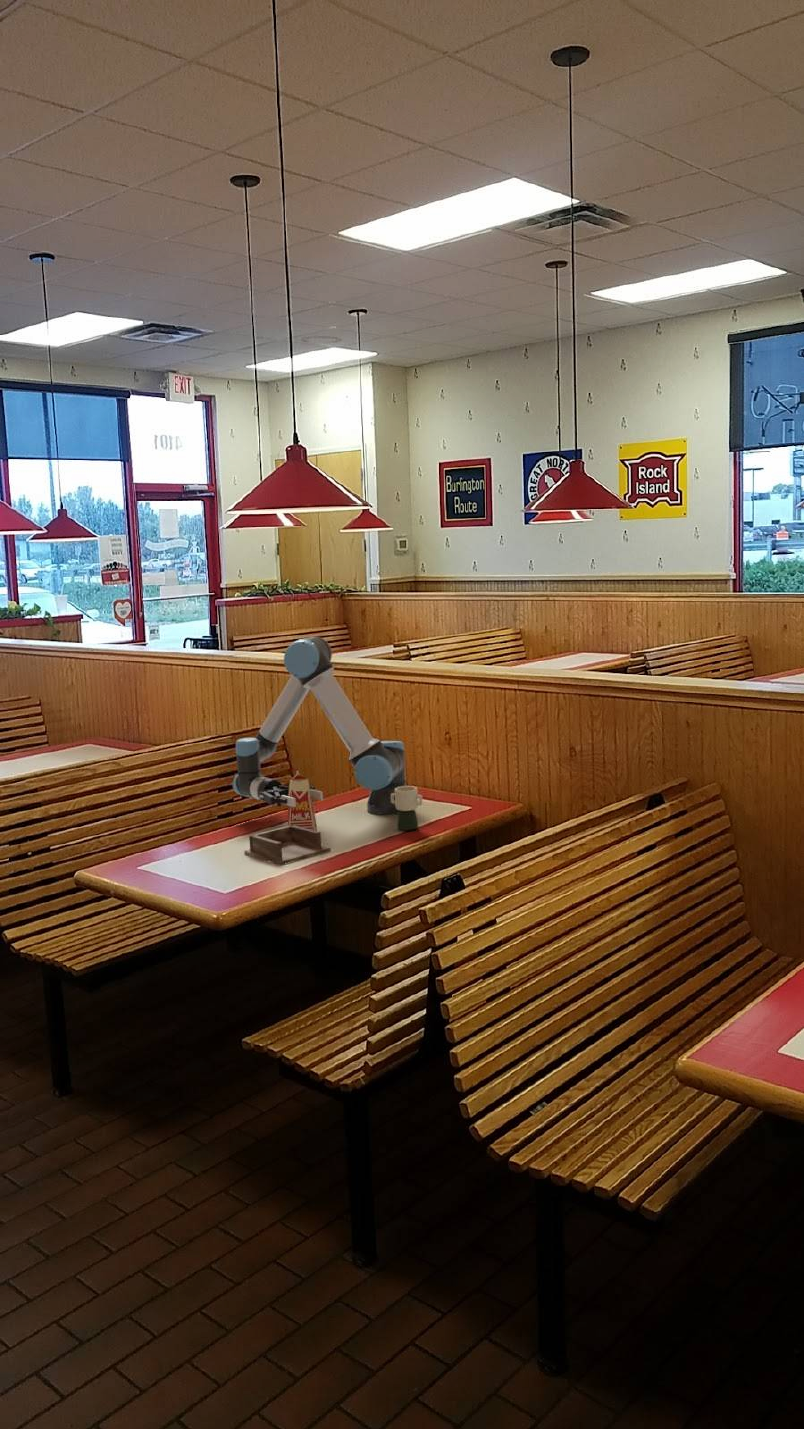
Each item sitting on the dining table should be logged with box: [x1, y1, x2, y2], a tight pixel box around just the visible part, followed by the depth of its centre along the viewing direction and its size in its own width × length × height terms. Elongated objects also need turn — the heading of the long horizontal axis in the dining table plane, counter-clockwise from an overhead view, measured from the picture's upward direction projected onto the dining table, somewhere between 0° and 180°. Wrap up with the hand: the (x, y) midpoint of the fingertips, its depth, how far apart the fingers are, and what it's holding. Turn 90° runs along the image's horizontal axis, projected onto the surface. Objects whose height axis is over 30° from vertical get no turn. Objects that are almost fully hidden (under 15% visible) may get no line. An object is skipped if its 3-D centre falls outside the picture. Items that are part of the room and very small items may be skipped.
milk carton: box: [287, 770, 318, 831], centre depth 344 cm, size 9×9×20 cm
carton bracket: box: [243, 825, 332, 866], centre depth 322 cm, size 18×18×6 cm
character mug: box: [391, 785, 423, 831], centre depth 341 cm, size 11×7×13 cm, turn 62°
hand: (308, 799), depth 341 cm, fingers open, 10 cm apart
